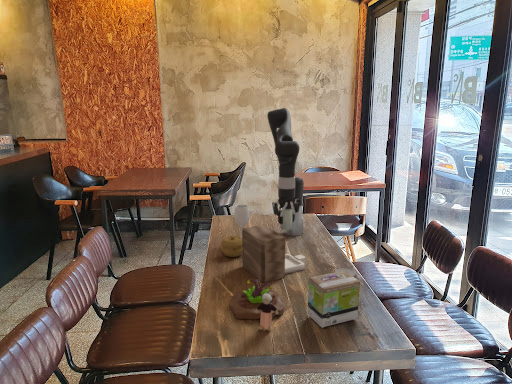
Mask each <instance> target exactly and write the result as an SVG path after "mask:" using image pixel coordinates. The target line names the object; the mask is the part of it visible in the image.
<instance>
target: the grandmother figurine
mask: <svg viewBox="0 0 512 384" xmlns="http://www.w3.org/2000/svg"><path fill="white" fill-rule="evenodd" d="M262 299H263V303H261V304H260V305H259V306H258V307H257V309H256V311H255V312H256V313H258V312H259V310H262V311H261V319H259V320H260V322H259V323H260V324H259V326H258V330H262V331H263V330H264V329H265V330H266V331H272V323H273V322H272V321H273V319H272V312H271V310H273V311H274V312H275V314H276V316H279V315H278V311H277V308H276V307H275V306H274V305H272V304H270V301H271V300H272V297H271V296H270V295H269V294H263V296H262Z"/></svg>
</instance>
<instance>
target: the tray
mask: <svg viewBox="0 0 512 384" xmlns="http://www.w3.org/2000/svg"><path fill="white" fill-rule="evenodd" d="M306 260H307V257H306V256H304V255H303V254H298V255H294V256H293V255H291V254H290V253H285V275H287V274H290V273H291V274H292V273H295V272H300V271H303V270H305V269H306V263H307V261H306Z"/></svg>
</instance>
